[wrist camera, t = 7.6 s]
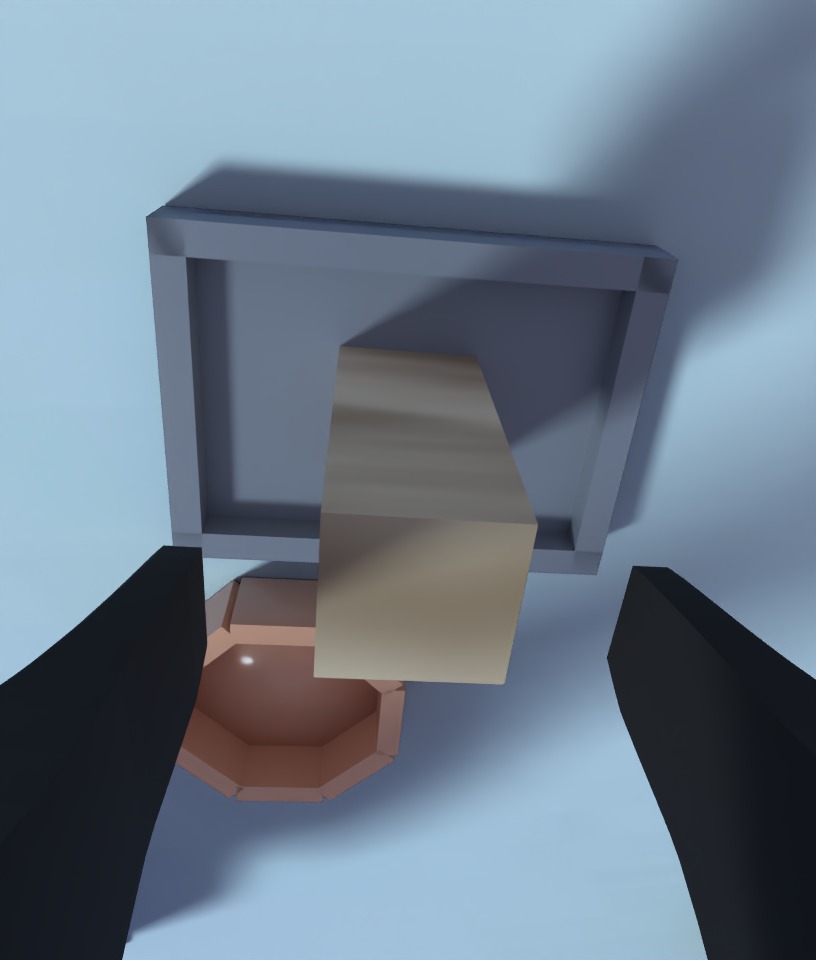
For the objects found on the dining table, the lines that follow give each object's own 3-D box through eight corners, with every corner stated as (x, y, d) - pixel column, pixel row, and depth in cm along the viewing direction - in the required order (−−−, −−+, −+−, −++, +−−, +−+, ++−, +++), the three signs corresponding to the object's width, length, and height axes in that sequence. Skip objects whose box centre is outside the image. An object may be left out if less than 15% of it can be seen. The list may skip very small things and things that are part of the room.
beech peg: (458, 475, 21) (504, 684, 14) (333, 468, 20) (313, 677, 13) (476, 356, 19) (537, 525, 12) (339, 346, 19) (320, 512, 12)
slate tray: (583, 545, 23) (596, 574, 21) (185, 526, 22) (173, 556, 20) (656, 245, 18) (677, 259, 17) (162, 205, 17) (145, 216, 16)
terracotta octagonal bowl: (390, 750, 27) (392, 803, 25) (179, 745, 26) (164, 799, 24) (408, 584, 23) (412, 631, 21) (164, 574, 22) (144, 621, 21)
